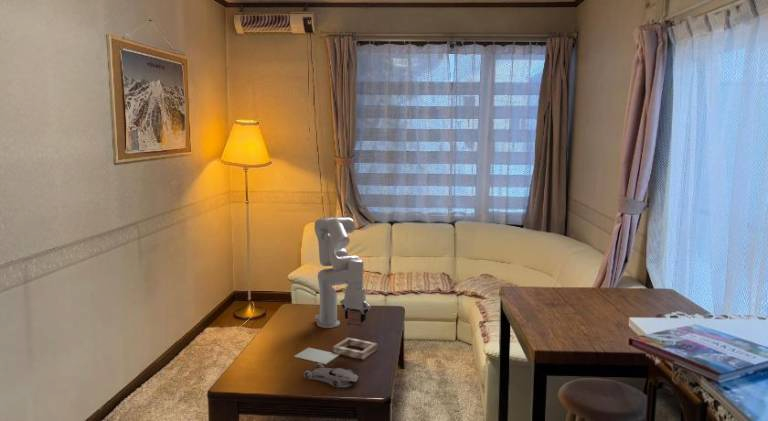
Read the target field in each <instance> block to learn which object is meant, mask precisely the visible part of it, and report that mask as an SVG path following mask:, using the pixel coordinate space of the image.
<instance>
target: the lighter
mask: <svg viewBox="0 0 768 421" xmlns="http://www.w3.org/2000/svg"><path fill="white" fill-rule="evenodd" d="M347 311H348V319H347V326H351V327H360V328H361V327H363V326H364V322H361V314H362V313H361V311H360V310H356V309H351V308H349V309H347Z"/></svg>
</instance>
